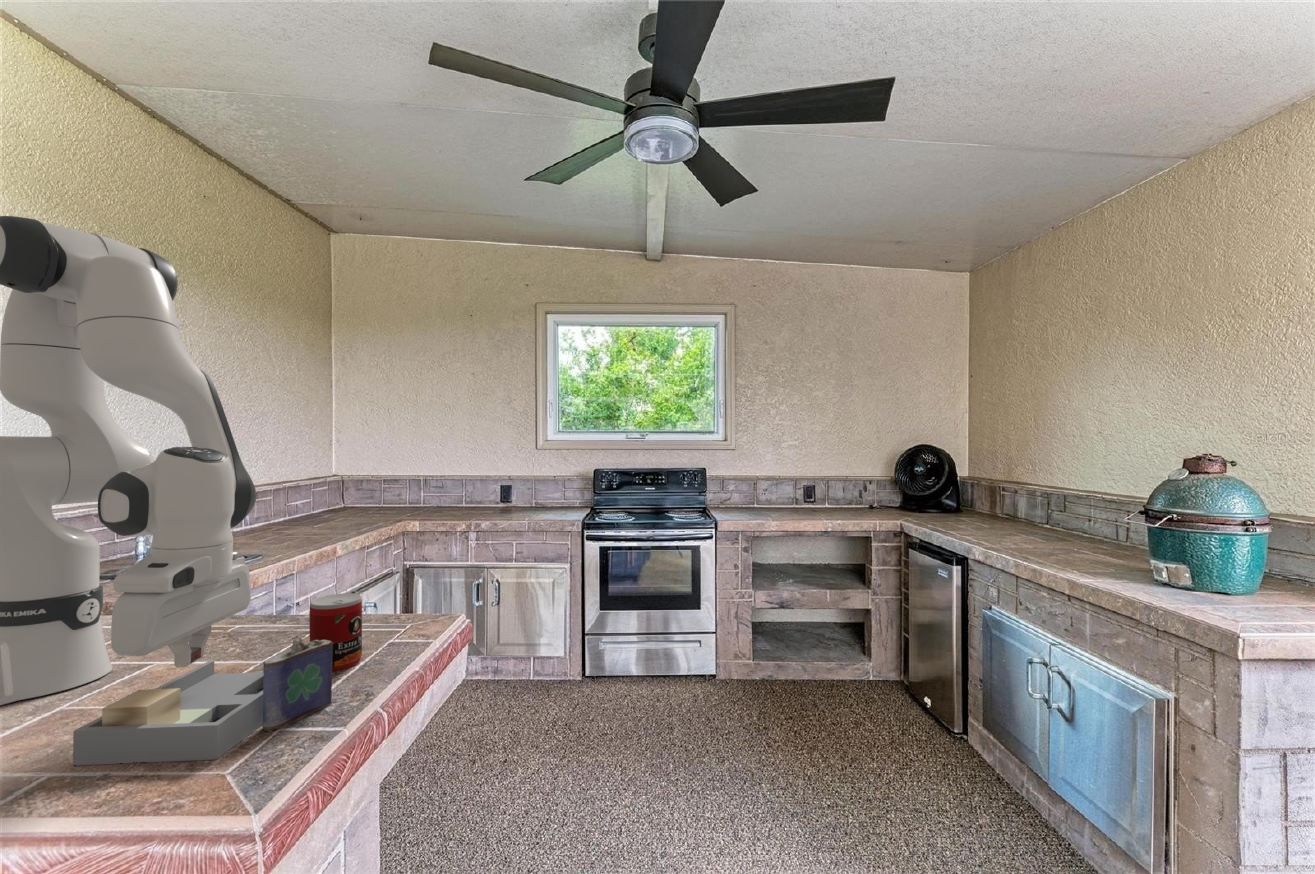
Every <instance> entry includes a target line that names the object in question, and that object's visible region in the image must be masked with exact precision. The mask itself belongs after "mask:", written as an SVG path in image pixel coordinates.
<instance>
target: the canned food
mask: <svg viewBox="0 0 1315 874" xmlns="http://www.w3.org/2000/svg"><path fill="white" fill-rule="evenodd" d="M308 615H309V616H308V617H309V642H313V641H314V640H320V641H321V640H329V641H332V642H333V649H332V652H333V656H332V672H337V670H338V671H343V670H345V669H349V668H351V666H352V667H353V665H354V666H356V665H357V664H358V663H360V661H361V659H362V655H363V654H362V653H363V650H362V649H363V647H362V646H363V599H362V595H361V594H358V593H346V592H345V593H335V594H334V593H333V594H328V595H323V596H319V597H317V598H314V599H312V600H311V601H310V602H309V614H308ZM314 643H315V642H314ZM355 664H356V665H355ZM348 667H349V668H348Z"/></svg>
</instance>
